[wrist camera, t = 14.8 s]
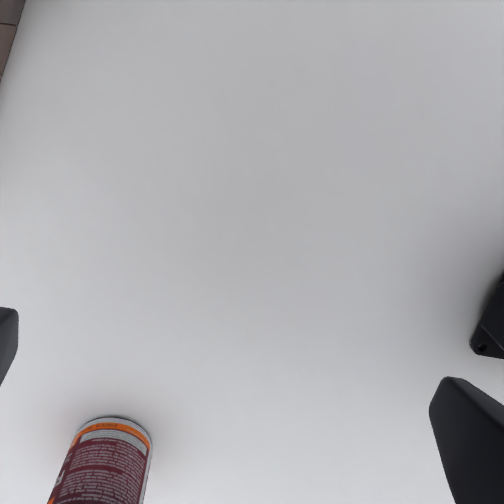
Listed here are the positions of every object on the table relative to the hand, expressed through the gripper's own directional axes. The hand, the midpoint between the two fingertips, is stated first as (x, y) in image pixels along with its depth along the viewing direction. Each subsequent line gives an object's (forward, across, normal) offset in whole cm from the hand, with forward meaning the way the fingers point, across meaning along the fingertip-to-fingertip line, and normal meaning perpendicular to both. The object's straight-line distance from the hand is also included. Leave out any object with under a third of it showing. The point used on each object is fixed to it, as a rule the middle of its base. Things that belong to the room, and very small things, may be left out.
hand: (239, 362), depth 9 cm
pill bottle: (+13, +4, +17) cm, 22 cm away
